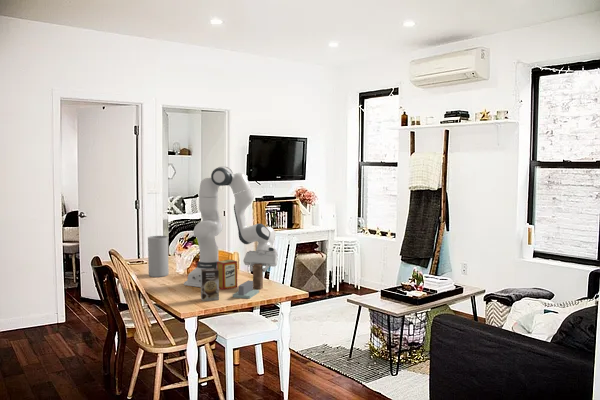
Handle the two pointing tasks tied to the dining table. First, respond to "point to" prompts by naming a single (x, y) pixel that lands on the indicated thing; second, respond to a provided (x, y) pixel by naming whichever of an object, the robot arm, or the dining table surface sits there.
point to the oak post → (257, 276)
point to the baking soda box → (227, 274)
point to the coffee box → (209, 284)
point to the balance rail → (245, 290)
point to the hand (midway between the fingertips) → (257, 271)
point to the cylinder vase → (158, 256)
